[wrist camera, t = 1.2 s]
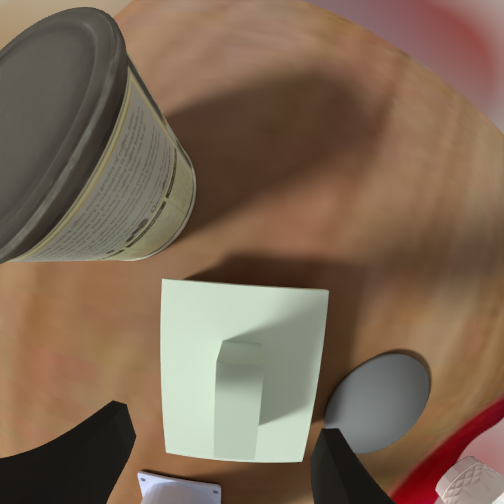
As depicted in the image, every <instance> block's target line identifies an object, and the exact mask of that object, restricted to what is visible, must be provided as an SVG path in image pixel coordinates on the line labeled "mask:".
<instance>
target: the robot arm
mask: <svg viewBox="0 0 504 504" xmlns="http://www.w3.org/2000/svg"><path fill="white" fill-rule="evenodd" d="M135 439H136V434H135V431H134V428H133V425H132V422H131V418H130V415H129V412H128V408H127V404H124V403H120V402H117V401H111V402H110V403H108V404H107V405H106V406H104V407H103V408H101V409H100V410H99V411H97V412H96V413H95V414H93V415H92V416H90V417H89V418H87V419H86V420H85V421H83V422H82V423H80V424H79V425H77V426H76V427H74V428H73V429H71V430H70V431H68V432H66V433H65V434H63V435H61V436H59V437H58V438H56V439H54V440H52V441H50V442H48V443H46V444H44V445H42V446H40V447H37V448H35V449H32V450H30V451H27V452H24V453H20V454H17V455H14V456H10V457H5V458H0V504H106V503H107V500H108V498H109V496H110V494H111V492H112V490H113V488H114V486H115V484H116V482H117V480H118V478H119V476H120V474H121V472H122V470H123V469H124V467H125V465H126V463H127V461H128V459H129V457H130V454H131V451H132V448H133V445H134V442H135ZM143 478H144V479H143ZM138 479H139V483H140V487H141V491H142V495H143V500H142V502H141V504H221V486H220V485H218V484H211V483H203V482H195V481H188V480H182V479H176V478H171V477H166V476H161V475H156V474H152V473H147V472H143V471H139V472H138ZM311 484H312V491H313V498H314V504H396V503H395V502H394V501H393V500H392V499H391V498H390V497H389V496H388V495H387V494H386V493H385V492H384V491H383V490H382V489H381V488H380V487H379V485H378V484H377V483H376V482H375V481H374V479H373V478H372V477H371V476H370V474H369V473H368V472H367V470H366V469H365V468H364V466H363V465H362V464H361V462H360V461H359V459H358V458H357V457H356V455H355V454H354V452H353V451H352V449H351V447H350V446H349V444H348V443H347V441H346V439H345V438H344V436H343V434H342V433H341V431H340V429H338V428H326V429H321V432H320V435H319V438H318V440H317V443H316V446H315V449H314V451H313V454H312V456H311Z"/></svg>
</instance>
